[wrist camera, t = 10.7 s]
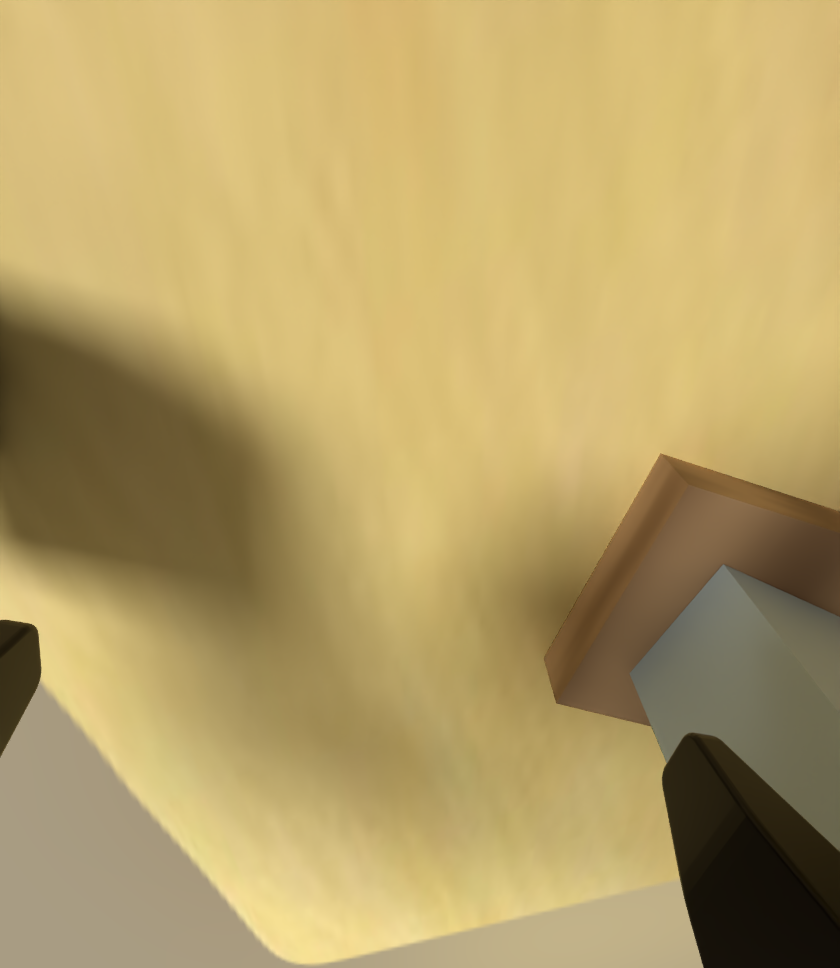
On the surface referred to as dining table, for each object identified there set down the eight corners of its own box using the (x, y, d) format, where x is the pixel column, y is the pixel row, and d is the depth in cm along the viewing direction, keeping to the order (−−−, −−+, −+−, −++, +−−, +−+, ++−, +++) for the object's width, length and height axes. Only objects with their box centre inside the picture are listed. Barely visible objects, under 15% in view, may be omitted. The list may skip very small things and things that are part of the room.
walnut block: (541, 648, 26) (556, 703, 23) (654, 446, 22) (688, 484, 19) (741, 700, 28) (777, 756, 25) (883, 521, 23) (944, 566, 21)
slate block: (629, 673, 23) (800, 1084, 12) (723, 564, 20) (1027, 956, 10) (745, 719, 24) (992, 1133, 13) (847, 620, 21) (1236, 1026, 11)
